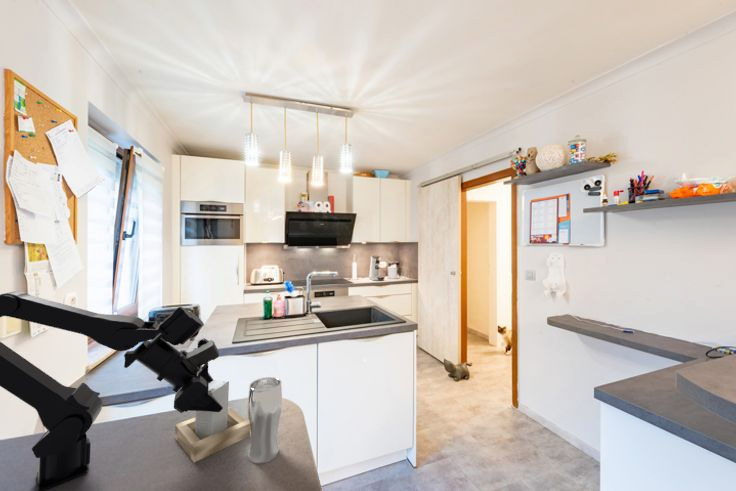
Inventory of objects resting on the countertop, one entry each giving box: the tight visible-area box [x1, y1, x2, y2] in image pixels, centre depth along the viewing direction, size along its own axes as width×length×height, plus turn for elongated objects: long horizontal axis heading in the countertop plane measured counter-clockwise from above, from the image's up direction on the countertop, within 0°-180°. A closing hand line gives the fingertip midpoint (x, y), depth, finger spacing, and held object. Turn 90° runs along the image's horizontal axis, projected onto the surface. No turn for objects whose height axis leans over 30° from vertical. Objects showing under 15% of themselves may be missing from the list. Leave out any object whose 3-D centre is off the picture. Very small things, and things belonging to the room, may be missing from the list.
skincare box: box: [195, 379, 230, 440], centre depth 69 cm, size 6×4×12 cm
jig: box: [174, 405, 251, 463], centre depth 69 cm, size 12×12×3 cm
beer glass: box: [247, 376, 283, 464], centre depth 64 cm, size 7×7×15 cm
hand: (220, 400), depth 70 cm, fingers open, 9 cm apart
